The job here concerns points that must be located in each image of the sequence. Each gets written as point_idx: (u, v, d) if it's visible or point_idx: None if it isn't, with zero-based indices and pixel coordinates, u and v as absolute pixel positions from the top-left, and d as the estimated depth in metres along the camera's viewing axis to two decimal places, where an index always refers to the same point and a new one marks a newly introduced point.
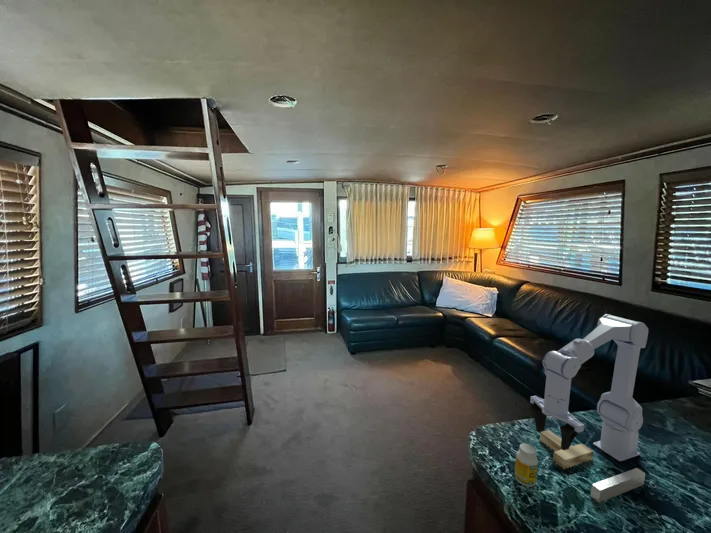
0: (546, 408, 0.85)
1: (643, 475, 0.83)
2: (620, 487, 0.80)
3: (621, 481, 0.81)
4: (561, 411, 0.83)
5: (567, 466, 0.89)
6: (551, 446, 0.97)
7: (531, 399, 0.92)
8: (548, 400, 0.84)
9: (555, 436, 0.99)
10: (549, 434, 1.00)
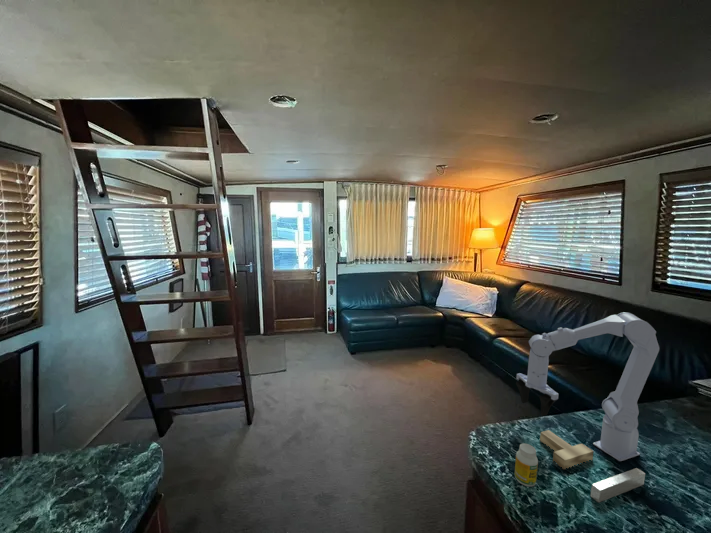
0: (529, 382, 1.03)
1: (643, 475, 0.83)
2: (620, 487, 0.80)
3: (621, 481, 0.81)
4: (540, 383, 1.00)
5: (567, 466, 0.89)
6: (551, 446, 0.97)
7: (517, 376, 1.10)
8: (530, 375, 1.02)
9: (555, 436, 0.99)
10: (549, 434, 1.00)
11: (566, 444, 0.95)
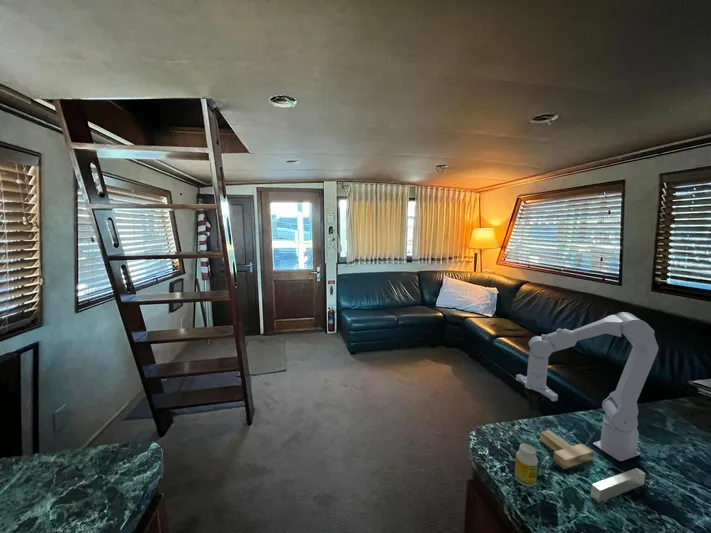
0: (528, 383, 1.03)
1: (643, 475, 0.83)
2: (620, 487, 0.80)
3: (621, 481, 0.81)
4: (540, 384, 1.01)
5: (567, 466, 0.89)
6: (551, 446, 0.97)
7: (517, 377, 1.10)
8: (530, 376, 1.03)
9: (555, 436, 0.99)
10: (549, 434, 1.00)
11: (566, 444, 0.95)
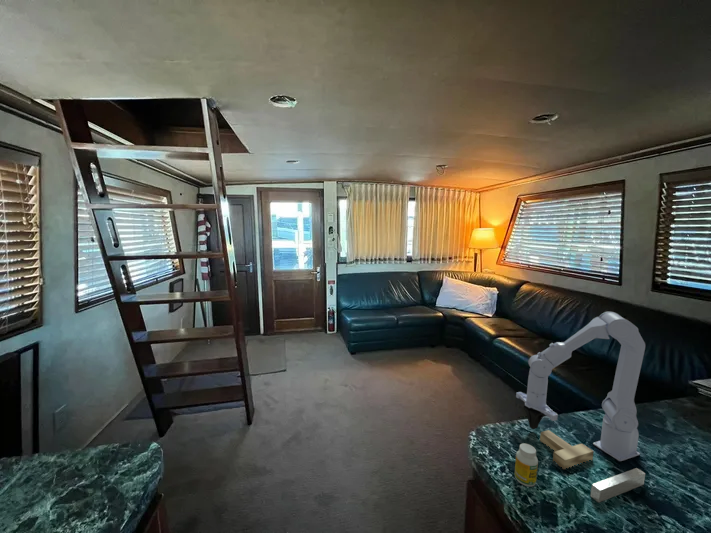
0: (528, 401, 1.04)
1: (643, 475, 0.83)
2: (620, 487, 0.80)
3: (621, 481, 0.81)
4: (540, 403, 1.01)
5: (567, 466, 0.89)
6: (551, 446, 0.97)
7: (517, 394, 1.10)
8: (530, 395, 1.03)
9: (555, 436, 0.99)
10: (549, 434, 1.00)
11: (566, 444, 0.95)
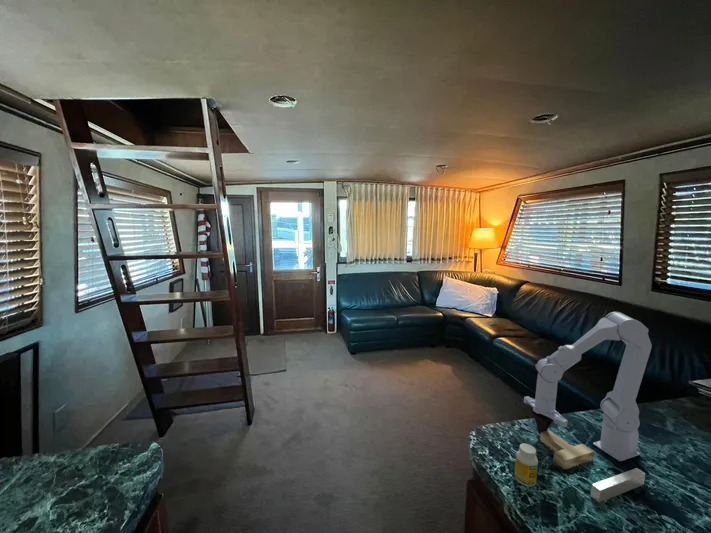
0: (536, 407, 1.01)
1: (643, 475, 0.83)
2: (620, 487, 0.80)
3: (621, 481, 0.81)
4: (549, 409, 0.98)
5: (567, 466, 0.89)
6: (551, 446, 0.97)
7: (524, 399, 1.07)
8: (538, 400, 1.00)
9: (555, 436, 0.98)
10: (549, 434, 0.99)
11: (566, 444, 0.95)
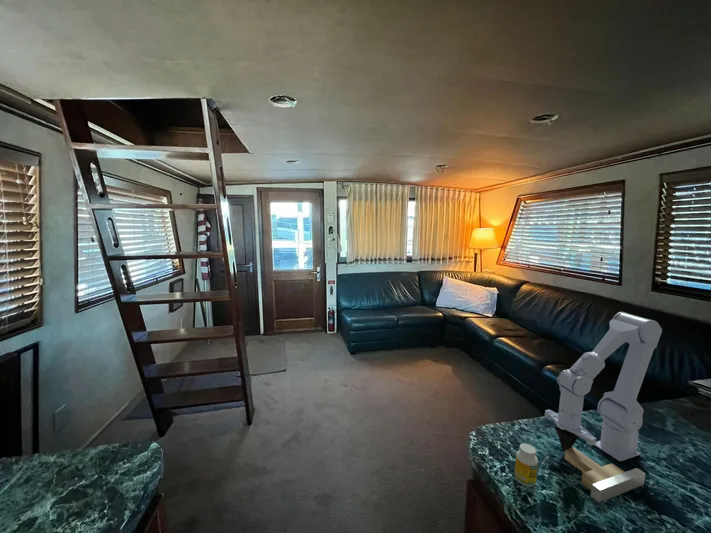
0: (560, 422, 0.93)
1: (643, 475, 0.83)
2: (620, 487, 0.80)
3: (621, 481, 0.81)
4: (574, 425, 0.90)
5: None
6: (578, 466, 0.89)
7: (546, 413, 0.99)
8: (562, 415, 0.92)
9: (582, 455, 0.91)
10: (574, 452, 0.92)
11: (595, 464, 0.87)
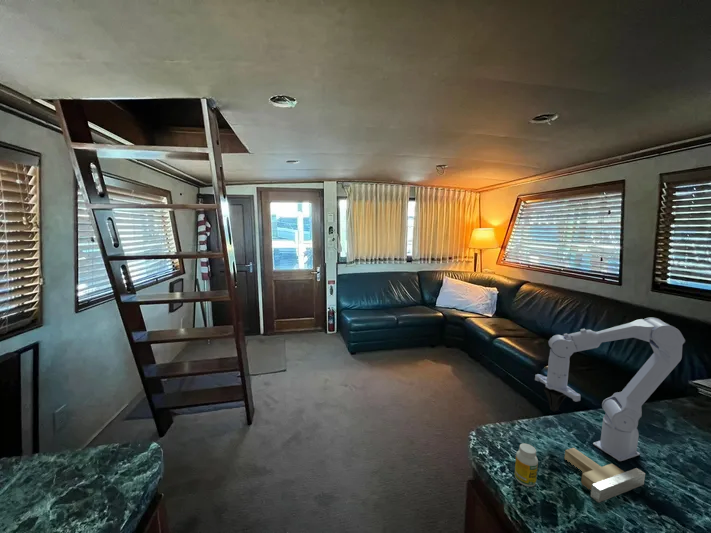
0: (549, 383, 1.01)
1: (643, 475, 0.83)
2: (620, 487, 0.80)
3: (621, 481, 0.81)
4: (561, 384, 0.98)
5: None
6: (578, 466, 0.89)
7: (536, 377, 1.08)
8: (550, 376, 1.00)
9: (582, 455, 0.91)
10: (574, 452, 0.92)
11: (595, 464, 0.87)
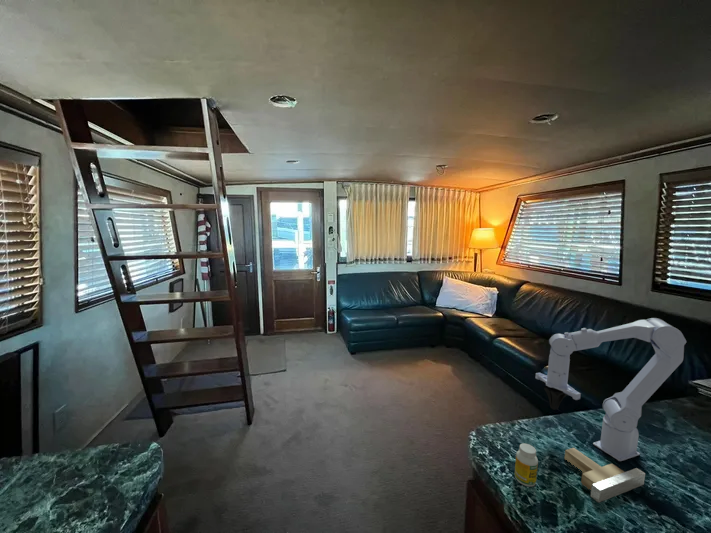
0: (549, 381, 1.01)
1: (643, 475, 0.83)
2: (620, 487, 0.80)
3: (621, 481, 0.81)
4: (561, 383, 0.99)
5: None
6: (578, 466, 0.89)
7: (536, 375, 1.08)
8: (551, 375, 1.01)
9: (582, 455, 0.91)
10: (574, 452, 0.92)
11: (595, 464, 0.87)
